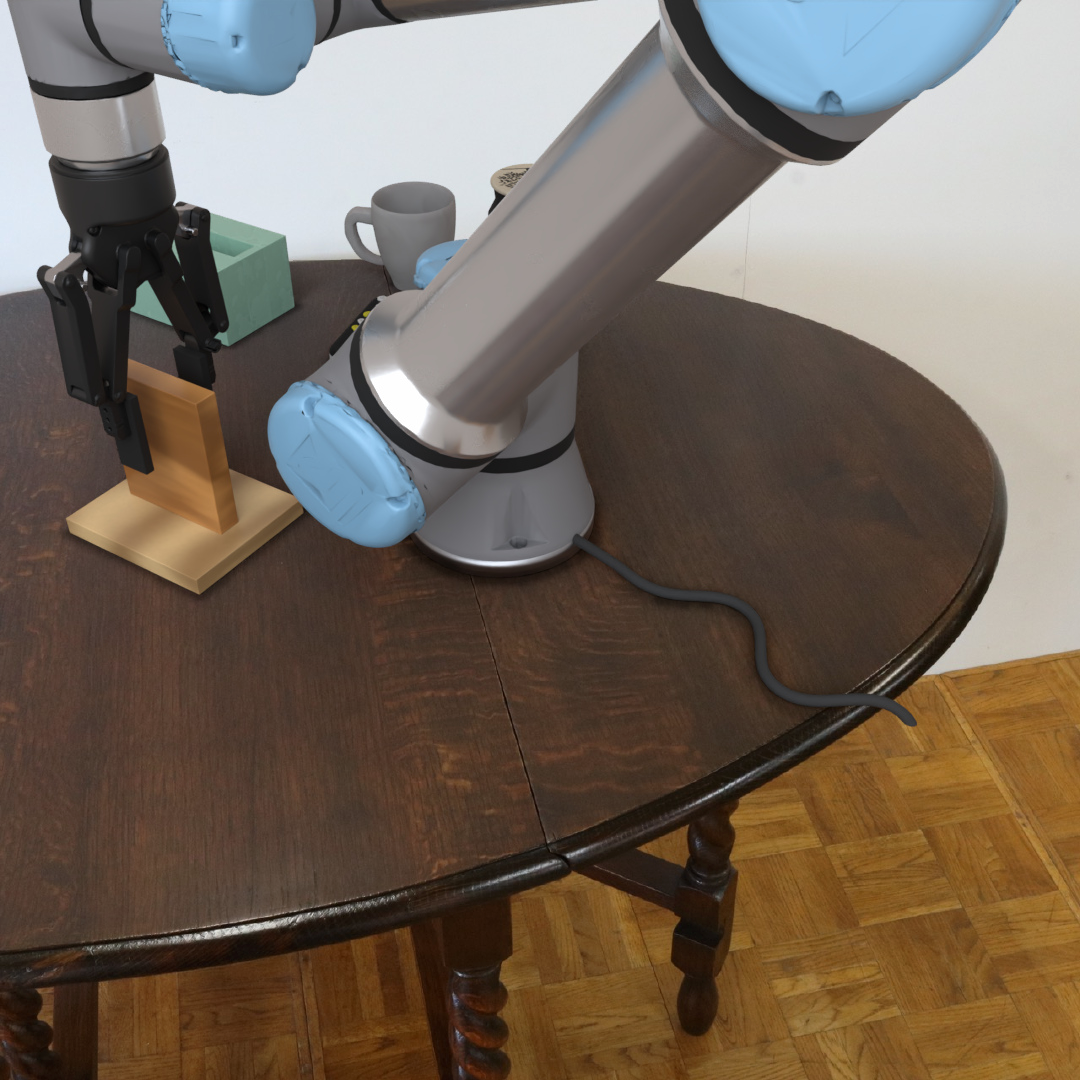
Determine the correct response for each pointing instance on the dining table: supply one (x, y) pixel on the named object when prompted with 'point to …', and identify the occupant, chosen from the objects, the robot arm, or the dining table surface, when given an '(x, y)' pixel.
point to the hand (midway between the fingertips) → (171, 444)
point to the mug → (404, 226)
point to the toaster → (239, 278)
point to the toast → (182, 449)
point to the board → (184, 531)
